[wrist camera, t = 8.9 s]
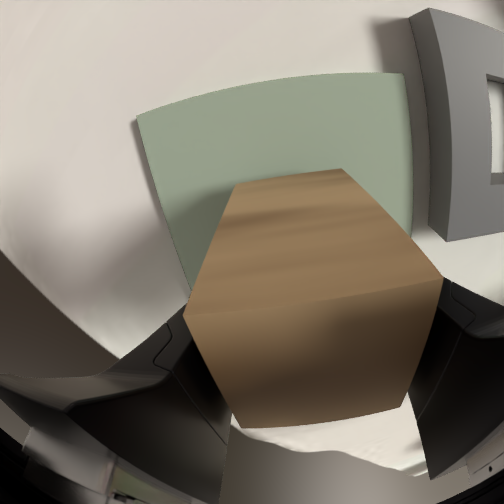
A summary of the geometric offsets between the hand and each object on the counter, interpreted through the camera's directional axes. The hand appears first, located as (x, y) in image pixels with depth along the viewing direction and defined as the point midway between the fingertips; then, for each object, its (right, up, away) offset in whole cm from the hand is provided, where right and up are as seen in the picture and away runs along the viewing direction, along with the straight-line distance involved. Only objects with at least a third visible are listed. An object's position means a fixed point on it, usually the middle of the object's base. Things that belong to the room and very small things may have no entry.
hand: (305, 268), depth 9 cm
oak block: (0, +2, +3) cm, 4 cm away
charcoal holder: (+13, +8, +1) cm, 16 cm away
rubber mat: (0, +3, +5) cm, 6 cm away
